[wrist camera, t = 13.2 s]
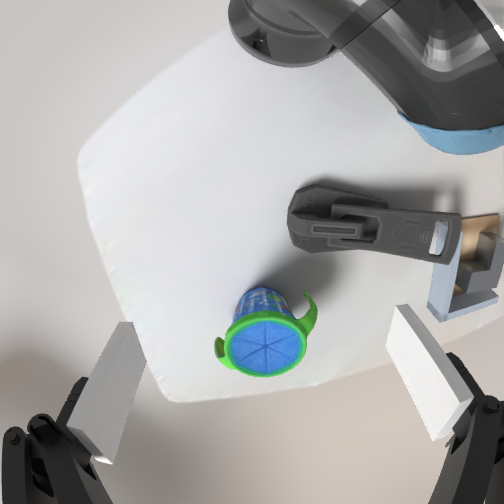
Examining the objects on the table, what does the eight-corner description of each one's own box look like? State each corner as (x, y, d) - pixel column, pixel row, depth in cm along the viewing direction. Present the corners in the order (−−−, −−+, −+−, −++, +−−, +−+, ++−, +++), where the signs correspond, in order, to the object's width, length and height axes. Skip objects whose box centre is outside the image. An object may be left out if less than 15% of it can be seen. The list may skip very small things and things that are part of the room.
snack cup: (295, 257, 41) (309, 295, 32) (320, 311, 45) (335, 353, 36) (200, 299, 44) (190, 343, 34) (233, 346, 48) (231, 391, 38)
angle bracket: (451, 280, 43) (466, 293, 38) (461, 233, 39) (478, 244, 35) (481, 275, 43) (496, 287, 38) (492, 231, 39) (508, 241, 35)
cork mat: (445, 220, 39) (447, 222, 39) (497, 214, 39) (499, 215, 38) (434, 298, 45) (435, 300, 44) (485, 284, 44) (486, 285, 44)
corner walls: (438, 221, 39) (456, 232, 35) (497, 214, 39) (514, 222, 34) (426, 307, 46) (439, 322, 41) (483, 290, 45) (497, 302, 40)
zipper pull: (451, 269, 35) (290, 267, 35) (430, 252, 41) (284, 246, 41) (466, 212, 32) (298, 193, 31) (441, 199, 38) (289, 182, 37)
